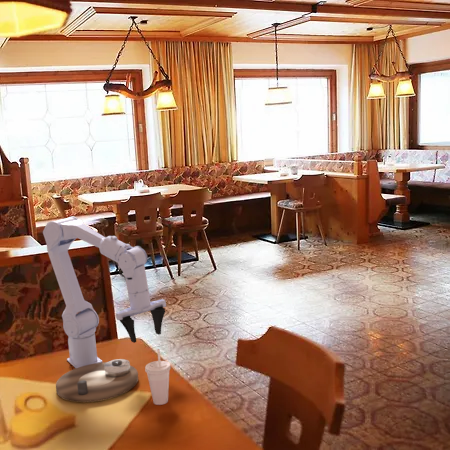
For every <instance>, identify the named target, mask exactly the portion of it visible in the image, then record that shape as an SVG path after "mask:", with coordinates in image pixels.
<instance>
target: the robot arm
mask: <svg viewBox="0 0 450 450" xmlns="http://www.w3.org/2000/svg"><path fill="white" fill-rule="evenodd" d="M42 234H43V237H44V240H45V244H46V250H47V254H48V258H49V260H50V263H51V267H52V268H53V271H54V274H55V277H56V281H57V283H58V286H59V290H60V292H61V295H62V298H63V300H64V303H65V308H64V310H63V312H62V314H61V318H62V323H63V325H62V327H63V330H64V333H65V335H67V336H68V338H67V344H68V352H69V357H68V358H66V361H67V362H69V364H70V365H72V366H73V367H74V369H76V368H79V367H82V366H85V365H90V364H95V363H103V360H102V359H100V357H98V351H97V343H96V333H95V332H96V331H97V327H98V326H99V323H100V317H99V315H98V313H97V312H96V310H95V309H94V307H93V304H92V303H90V302H88V301H87V300H85V299H84V296H83V293H82V290H81V287H80V283H79V281H78V278H77V275H76V272H75V269H74V267H73V263H72V259H71V257H70V255H69V250H70V246H71V245H72V244H73V242H74V241H75V240H76V239H79V240H81V241H83V242H84V243H85V242H86V243H88V244H90V245H92V246H94V247H95V248H98V249H99V252H100V254H101V255H103V256H105V257H106V258H108V259H110V260H112V261H113V262H116V263H117V265H118V267H119V268H120V270H121V271H122V273H123V275H122V276H123V277H124V278H125V279H124V280H125V285H126V289H127V290H126V291H127V295H128V302H129V306H130V307H127V308H125V309H122V310H119V311H116V312H115V319H116V320H117V321H119V322H120V323H121V325H122V326H123V327H124V329H125V330H126V332H127V334H128V336H129V339H130V341H131V343H133V344H135V343H137V336H136V335H137V334H136V332H135V320H134V319H133V317H134V316H137V315H141V314H143V313H147V312H150V314H151V316H152V317H151V318H152V320H153V321H152V322H153V327H154V331H155V334H156V335H159V336H160V335H161V334H162V326H163V325H162V324H163V320H164V316H165V313H166V308H165V307H167V303H166V299H162V298H160V299H157V300H153V301H151V297H150V291H149V285H148V279H147V273H146V267H145V265H146V263H147V261H148V254H147V252H146V250H145V249H144V248H142V246H140V245H136V246H131V244H129V243H125V242H123V241H121V240H119V239H118V237H117V236H115V235H108V236H104V235H102V234H100V233H99V232H97V231H96V230H94V228H93V229H92V228H91V227H90V226H88V225H87V224H84V222H83V220H82V219H79V218H78V217H76V216H69V217H67V218H66V217H65V218H61V219H57V220H50V221H49V222H48V221H47V223H46V224H45V227H44V229H43V231H42Z"/></svg>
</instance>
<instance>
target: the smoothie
mask: <svg viewBox="0 0 450 450" xmlns="http://www.w3.org/2000/svg"><path fill="white" fill-rule="evenodd" d="M156 351H157V360H155V361H151V362H149V363H147V364H146V365H145V367H144V368H145V369H144V371H145V373H146V374H147V379H148V384H149V388H150V393H151V397H152V400H153V401H152V402H153V404H154V405H157V406H161V405H165V404H167V403H168V402H169V385H170V370H171V363H170V362H168V361H166V360H161V351H160V348H157V349H156Z"/></svg>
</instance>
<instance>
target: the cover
mask: <svg viewBox="0 0 450 450" xmlns="http://www.w3.org/2000/svg"><path fill="white" fill-rule="evenodd" d="M106 362H107V363H105V365H104V368H105V375H106V376H108V377H122V376H125V375H127V374H129V373H130V365H131V364H130V363H131V362H130V361H129V359H124V358H119V359H118V358H117V359H112V360H110V361H106Z"/></svg>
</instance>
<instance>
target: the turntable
mask: <svg viewBox="0 0 450 450" xmlns="http://www.w3.org/2000/svg"><path fill="white" fill-rule="evenodd" d="M107 362H108V361H105V362H103V361H102V363H95V364H90V365H85V366H82V367H79V368H73V369H72V370H69V371H67V372H65V373H64V374H62V375H61V376H60V377H59V378H58V379H57V381H56V383H55V389H56V390H55V391H56V394H57V395H58V396H59V397H60V398H61V399H63V400H66V401H69V402H74V403H75V402H77V403H78V402H79V403H92V402H93V403H94V402H98V401H99V402H100V401H105V400H109V399H113V398H116V397H118V396H121V395H123V394H125V393H127V392H129V391H130V390H131V389H133V388H134V387H135V386H136V385H137V383H138V382H139V372H138V369H137V368H135V366H132V365H131V364H130V373H129V374H127V375H125V376H122V377H108V376H106V375H105V368H104V365H105V363H107Z"/></svg>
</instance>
